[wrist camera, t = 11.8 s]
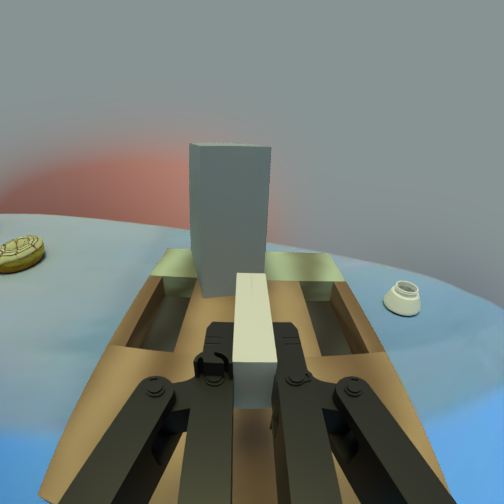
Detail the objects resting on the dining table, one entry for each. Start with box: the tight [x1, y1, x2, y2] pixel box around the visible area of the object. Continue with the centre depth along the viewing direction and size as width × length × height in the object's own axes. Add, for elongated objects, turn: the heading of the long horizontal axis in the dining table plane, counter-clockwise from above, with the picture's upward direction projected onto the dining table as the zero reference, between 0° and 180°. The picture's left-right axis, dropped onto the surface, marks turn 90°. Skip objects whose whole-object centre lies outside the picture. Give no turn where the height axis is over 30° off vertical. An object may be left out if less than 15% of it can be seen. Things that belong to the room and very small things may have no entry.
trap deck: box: [38, 248, 451, 504], centre depth 23 cm, size 22×34×3 cm, turn 1°
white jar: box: [383, 281, 421, 316], centre depth 31 cm, size 5×3×5 cm
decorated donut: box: [0, 235, 44, 273], centre depth 37 cm, size 10×11×4 cm
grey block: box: [189, 143, 271, 298], centre depth 30 cm, size 6×12×14 cm, turn 16°
